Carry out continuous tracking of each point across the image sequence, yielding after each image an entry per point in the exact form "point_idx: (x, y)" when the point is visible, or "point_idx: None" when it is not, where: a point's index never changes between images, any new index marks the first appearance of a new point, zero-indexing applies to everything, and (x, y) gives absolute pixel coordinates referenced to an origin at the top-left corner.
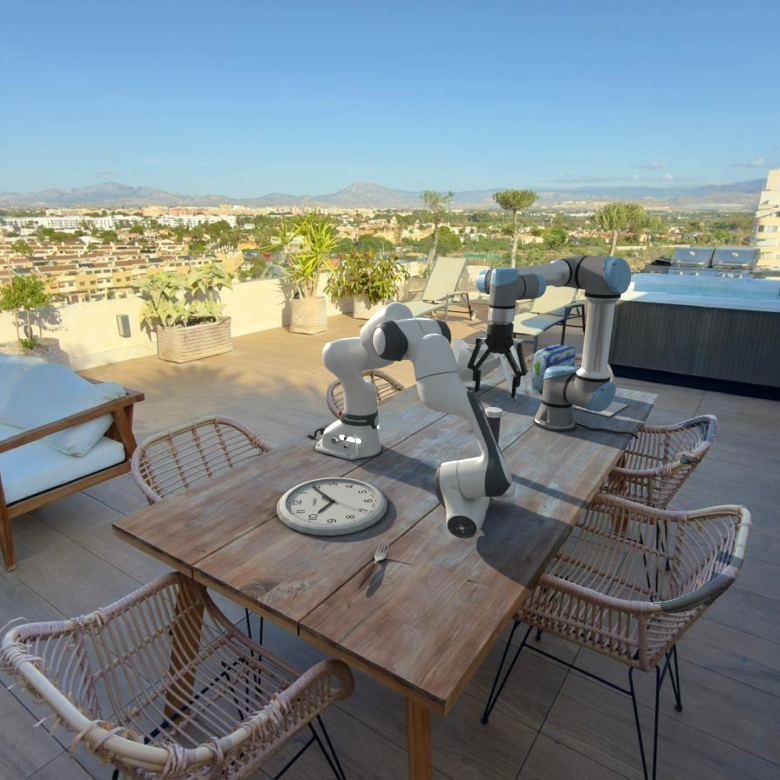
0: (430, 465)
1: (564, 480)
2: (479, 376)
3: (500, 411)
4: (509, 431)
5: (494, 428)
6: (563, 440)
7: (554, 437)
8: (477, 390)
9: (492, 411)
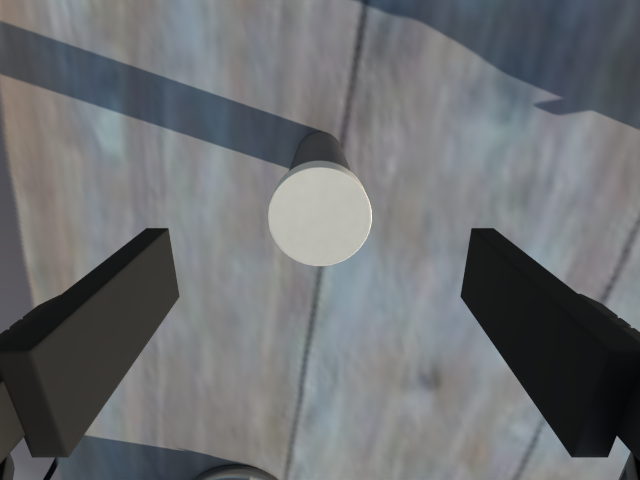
0: (508, 82)
1: (95, 182)
2: (540, 355)
3: (272, 206)
4: (333, 419)
5: (300, 160)
6: (187, 423)
7: (214, 430)
8: (478, 242)
9: (317, 180)
